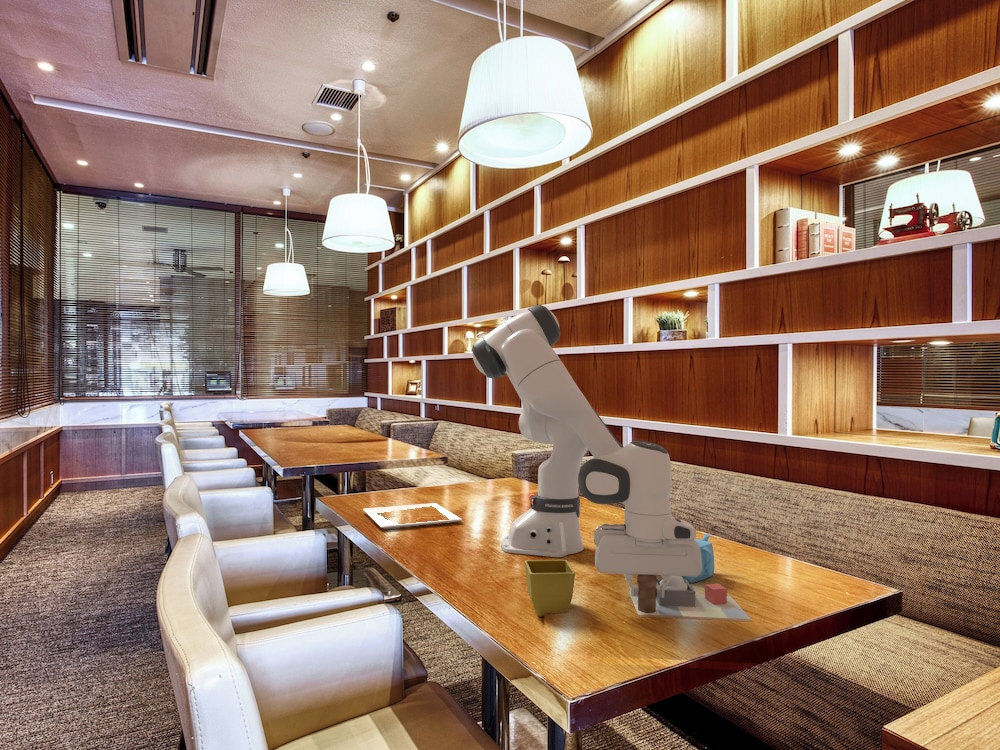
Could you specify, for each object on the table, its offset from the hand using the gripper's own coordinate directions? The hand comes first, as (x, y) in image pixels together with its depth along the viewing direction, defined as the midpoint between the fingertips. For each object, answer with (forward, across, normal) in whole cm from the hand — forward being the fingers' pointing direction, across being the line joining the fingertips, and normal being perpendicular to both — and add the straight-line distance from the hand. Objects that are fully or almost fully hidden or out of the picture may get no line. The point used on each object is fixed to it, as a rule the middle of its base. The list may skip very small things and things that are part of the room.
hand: (646, 596), depth 113 cm
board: (+4, +8, +3) cm, 10 cm away
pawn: (+3, 0, 0) cm, 3 cm away
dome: (+2, +6, +6) cm, 9 cm away
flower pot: (+4, -19, 0) cm, 20 cm away
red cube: (+3, +15, +6) cm, 16 cm away
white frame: (+4, -63, +72) cm, 96 cm away
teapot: (+4, +13, +22) cm, 26 cm away
